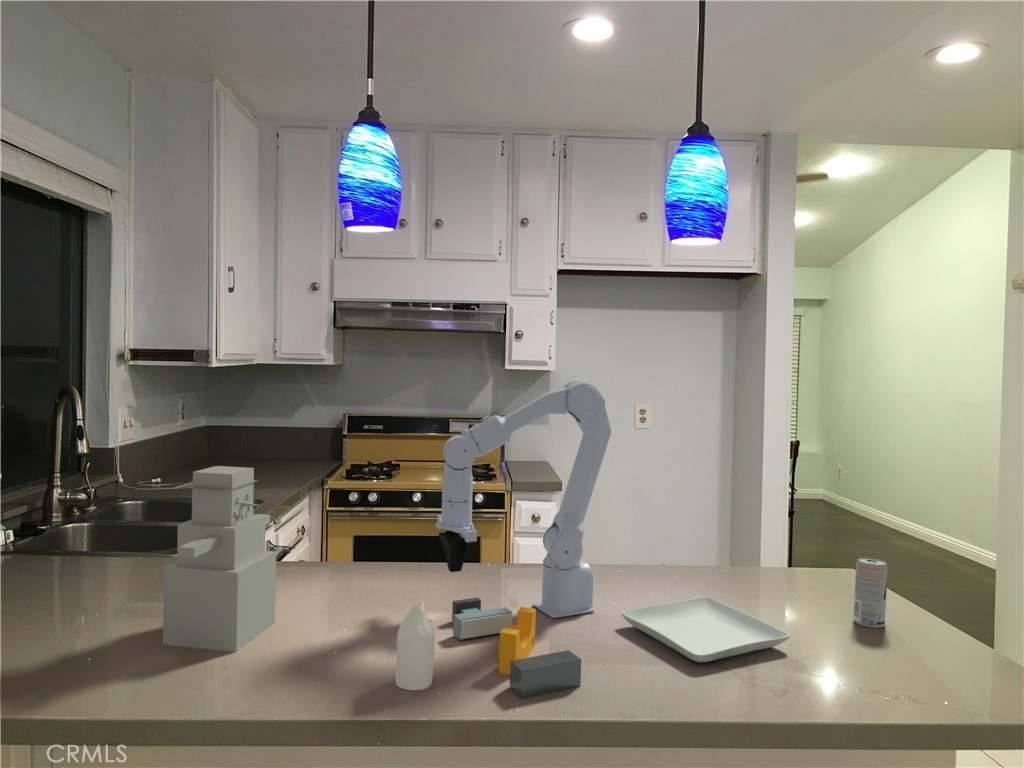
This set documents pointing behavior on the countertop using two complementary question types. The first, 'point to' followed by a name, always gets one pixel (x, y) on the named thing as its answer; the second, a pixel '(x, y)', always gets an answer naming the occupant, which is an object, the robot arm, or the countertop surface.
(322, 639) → the countertop surface
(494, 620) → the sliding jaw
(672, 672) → the countertop surface
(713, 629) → the salad plate
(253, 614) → the stacked tiered boxes
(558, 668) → the block
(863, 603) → the energy drink
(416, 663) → the pale white bottle
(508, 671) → the pipe clamp
